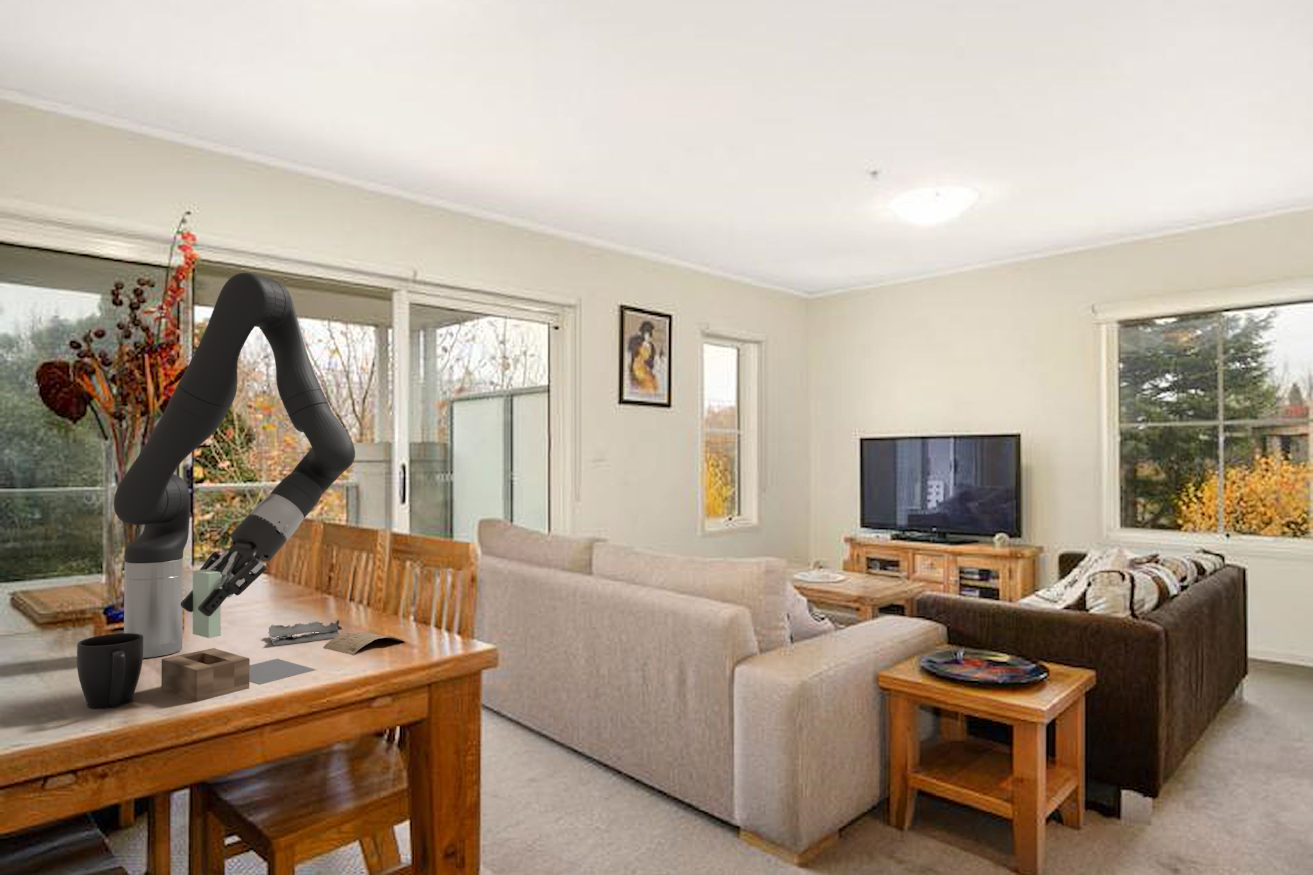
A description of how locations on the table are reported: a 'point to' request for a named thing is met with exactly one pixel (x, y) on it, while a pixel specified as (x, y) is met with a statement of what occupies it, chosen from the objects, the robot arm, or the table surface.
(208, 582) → the tall mint green block
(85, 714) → the table surface
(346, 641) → the brown curved sheet
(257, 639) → the table surface
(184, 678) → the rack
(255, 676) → the mat
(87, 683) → the mug
